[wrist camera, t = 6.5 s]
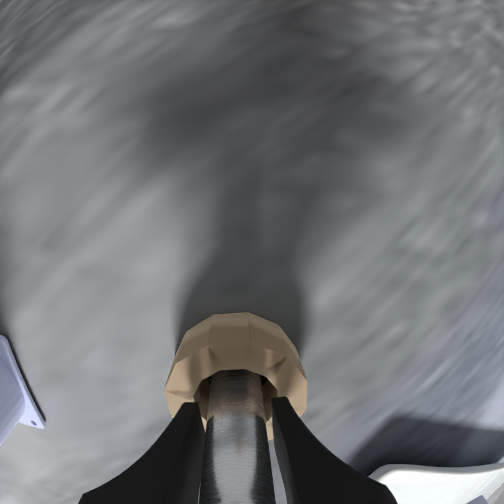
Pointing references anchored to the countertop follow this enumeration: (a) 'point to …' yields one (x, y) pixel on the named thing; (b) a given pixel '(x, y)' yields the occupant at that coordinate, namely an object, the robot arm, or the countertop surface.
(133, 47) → the countertop surface
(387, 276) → the countertop surface
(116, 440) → the countertop surface
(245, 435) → the cylindrical metal peg
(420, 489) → the square plate
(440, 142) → the countertop surface
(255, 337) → the wooden bead
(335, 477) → the robot arm
